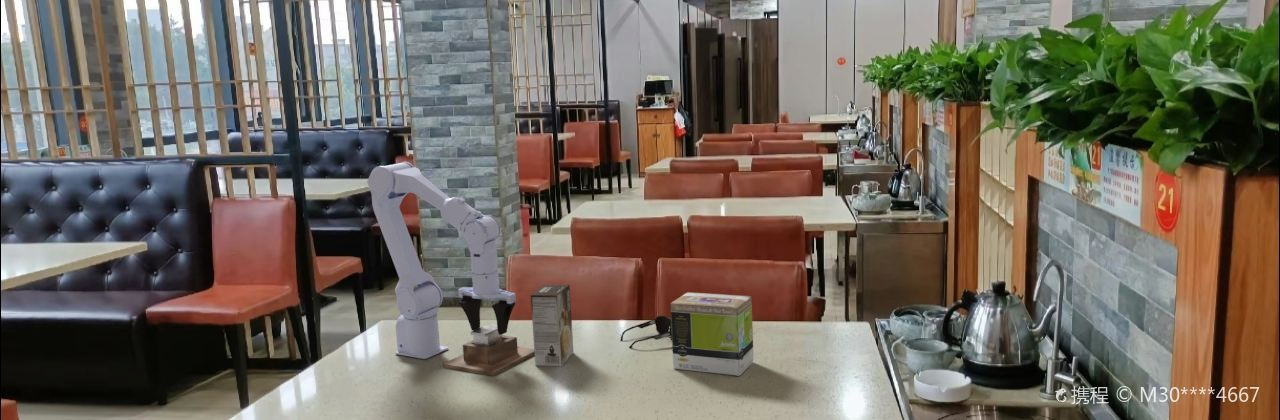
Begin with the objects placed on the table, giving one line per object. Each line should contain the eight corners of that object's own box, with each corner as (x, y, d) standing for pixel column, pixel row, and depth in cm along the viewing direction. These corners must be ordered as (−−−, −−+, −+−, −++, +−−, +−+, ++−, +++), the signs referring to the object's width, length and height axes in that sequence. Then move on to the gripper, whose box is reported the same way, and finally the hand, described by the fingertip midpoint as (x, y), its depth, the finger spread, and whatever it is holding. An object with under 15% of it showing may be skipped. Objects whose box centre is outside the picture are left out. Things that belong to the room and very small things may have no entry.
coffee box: (547, 352, 197) (543, 283, 195) (574, 352, 196) (570, 283, 193) (534, 366, 189) (529, 294, 186) (562, 366, 187) (558, 294, 185)
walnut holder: (443, 367, 190) (441, 347, 189) (489, 345, 204) (488, 327, 203) (493, 376, 183) (491, 356, 183) (537, 353, 197) (536, 334, 196)
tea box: (754, 361, 186) (753, 295, 183) (739, 377, 177) (738, 307, 174) (689, 354, 192) (687, 289, 190) (671, 369, 183) (669, 301, 181)
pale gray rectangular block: (472, 360, 191) (470, 332, 190) (491, 351, 197) (489, 323, 196) (487, 363, 189) (485, 334, 188) (505, 353, 195) (503, 325, 194)
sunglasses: (681, 343, 200) (678, 323, 199) (634, 358, 196) (630, 337, 195) (663, 331, 210) (660, 311, 209) (618, 345, 206) (614, 325, 205)
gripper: (447, 272, 190) (451, 332, 193) (499, 278, 183) (503, 340, 185) (468, 265, 196) (472, 323, 199) (520, 271, 189) (523, 331, 192)
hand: (489, 331), depth 192 cm, fingers open, 7 cm apart
